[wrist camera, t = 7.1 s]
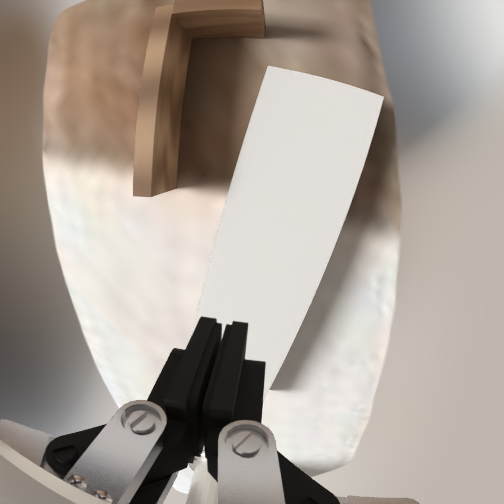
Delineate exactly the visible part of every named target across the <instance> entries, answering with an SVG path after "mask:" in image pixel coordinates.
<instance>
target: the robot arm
mask: <svg viewBox="0 0 504 504" xmlns="http://www.w3.org/2000/svg"><path fill="white" fill-rule="evenodd" d="M247 334H248V323H246V322H238V321H233V322H232V325H230V324H226V327H225V330H224V333H223V337H222V323H217V319H216V318H209V317H203V316H201V317H200V319H199V321H198V323H197V325H196V328H195V330H194V332H193V334H192V336H191V339H190V341H189V343H188V345H187V347H186V350H183V349H177V348H174V349H173V350H172V351H171V353H170V355H169V357H168V359H167V361H166V363H165V365H164V367H163V369H162V371H161V373H160V375H159V377H158V379H157V381H156V383H155V385H154V387H153V389H152V391H151V393H150V395H149V397H148V399H147V401H146V400H136V401H131V402H129V403H126V404H124V405H123V406H122V407H121V408H120V409H119V410H118V411H117V412H116V413H115V415H114V416H113V417H112V418H111V420H110V421H109V422H108V423H107V424H105V425H101V426H98V427H94V428H91V429H87V430H83V431H79V432H76V433H71V434H67V435H63V436H60V437H57V438H54V437H52V436H51V435H50V434H48V433H45V432H42V431H38V430H35V429H32V428H29V427H26V426H24V425H21V424H18V423H15V422H13V421H10V420H5V419H4V420H0V504H163V502H164V500H165V498H166V496H167V494H168V492H169V491H170V489H171V487H172V485H173V483H174V481H175V479H176V477H177V475H178V471H180V470H182V469H185V468H187V466H188V464H189V466H190V468H191V469H192V470H193V471H194V475H193V479H192V482H191V486H190V490H189V494H188V498H187V502H186V504H419V503H418V502H417V501H415V500H414V499H410V498H375V497H359V496H348V497H347V498H345V497H336V496H334V495H333V494H332V493H331V492H330V491H328V490H327V489H325V488H324V487H323V486H321V485H320V484H319V483H317V482H316V481H315V480H313V479H312V478H311V477H309V476H308V475H307V474H305V473H304V472H303V471H301V470H300V469H299V468H298V467H296V466H295V465H294V464H293V463H291V462H290V461H289V460H288V459H287V458H285V457H284V456H283V455H282V454H281V453H279V452H278V451H277V448H276V441H275V438H274V435H273V433H272V432H271V431H270V430H269V428H267V427H266V426H264V425H263V424H261V419H262V407H263V395H264V381H265V368H266V362H265V361H256V360H247V359H245V354H246V344H247ZM203 447H204V448H205V451H203Z"/></svg>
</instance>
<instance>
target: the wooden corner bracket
mask: <svg viewBox="0 0 504 504" xmlns="http://www.w3.org/2000/svg"><path fill="white" fill-rule="evenodd" d="M265 26H266V25H265V15H264V6H263V0H175V3H174V5H168V6H161V7H156V10H155V14H154V18H153V22H152V27H151V31H150V36H149V41H148V46H147V51H146V57H145V63H144V69H143V75H142V82H141V89H140V97H139V106H138V115H137V126H136V138H135V153H134V176H133V196H140V197H153V196H156V195H158V194H161V193H164V192H167V191H170V190H173V189H176V188H177V173H178V156H179V143H180V131H181V120H182V110H183V100H184V92H185V84H186V76H187V69H188V61H189V55H190V48H191V42H192V39H196V38H222V37H238V38H264V36H265Z"/></svg>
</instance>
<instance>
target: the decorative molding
mask: <svg viewBox="0 0 504 504" xmlns="http://www.w3.org/2000/svg"><path fill="white" fill-rule="evenodd" d="M383 99H384V97H383V96H380V95H377V94H375V93H372V92H369V91H366V90H363V89H360V88H357V87H354V86H351V85H347V84H344V83H341V82H337V81H334V80H330V79H326V78H322V77H318V76H314V75H310V74H306V73H302V72H297V71H292V70H287V69H282V68H277V67H271V66H268V68H267V71H266V74H265V76H264V79H263V82H262V85H261V88H260V91H259V94H258V97H257V100H256V104H255V107H254V110H253V113H252V116H251V119H250V122H249V125H248V129H247V132H246V135H245V138H244V141H243V145H242V148H241V151H240V155H239V158H238V161H237V165H236V168H235V171H234V175H233V178H232V181H231V185H230V188H229V192H228V195H227V199H226V202H225V206H224V209H223V213H222V217H221V220H220V224H219V228H218V231H217V235H216V239H215V242H214V246H213V250H212V254H211V258H210V261H209V265H208V269H207V273H206V277H205V281H204V285H203V289H202V293H201V297H200V301H199V305H198V309H197V313H196V318H195V322H194V326H193V330H192V334H193V332H194V330H195V328H196V325H197V323H198V321H199V319H200V317H201V316H203V317H209V318H216V319H217V323H222V337H223V333H224V330H225V327H226V324H230V325H232V322H233V321H238V322H246V323H248V334H247V344H246V354H245V359H247V360H256V361H265V362H266V368H265V381H264V395H263V401H264V399H265V397H266V395H267V393H268V391H269V389H270V387H271V385H272V383H273V382H274V380H275V378H276V376H277V374H278V372H279V370H280V368H281V366H282V364H283V362H284V360H285V358H286V356H287V354H288V352H289V350H290V347H291V345H292V343H293V341H294V339H295V337H296V335H297V333H298V331H299V328H300V326H301V324H302V322H303V320H304V318H305V315H306V313H307V311H308V309H309V306H310V304H311V302H312V300H313V297H314V295H315V293H316V290H317V288H318V286H319V283H320V281H321V279H322V276H323V274H324V272H325V269H326V267H327V264H328V262H329V259H330V257H331V254H332V252H333V249H334V247H335V244H336V242H337V239H338V237H339V234H340V231H341V229H342V226H343V223H344V221H345V218H346V215H347V213H348V210H349V207H350V204H351V201H352V199H353V196H354V193H355V190H356V187H357V184H358V181H359V178H360V175H361V172H362V169H363V166H364V163H365V160H366V157H367V154H368V151H369V147H370V144H371V141H372V138H373V134H374V131H375V127H376V124H377V120H378V117H379V113H380V110H381V106H382V102H383ZM191 336H192V335H191Z"/></svg>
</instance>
